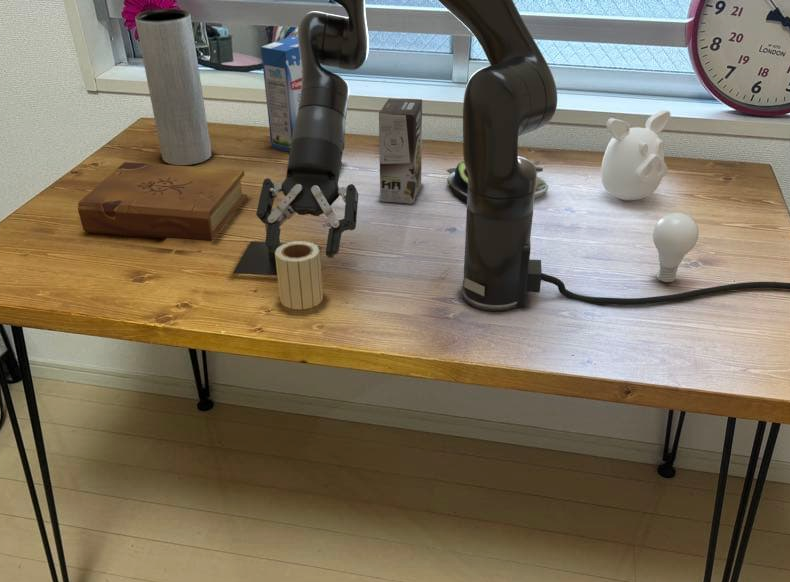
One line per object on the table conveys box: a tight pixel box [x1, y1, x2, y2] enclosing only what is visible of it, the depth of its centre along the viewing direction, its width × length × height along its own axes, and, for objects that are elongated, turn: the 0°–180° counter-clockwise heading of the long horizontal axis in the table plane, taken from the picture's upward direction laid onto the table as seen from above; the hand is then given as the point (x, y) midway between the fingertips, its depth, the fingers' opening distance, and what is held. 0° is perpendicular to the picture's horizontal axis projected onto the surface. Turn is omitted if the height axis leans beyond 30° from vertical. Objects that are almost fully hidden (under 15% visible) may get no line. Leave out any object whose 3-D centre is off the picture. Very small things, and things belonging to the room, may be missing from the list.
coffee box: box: [378, 98, 423, 205], centre depth 146 cm, size 9×6×16 cm
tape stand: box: [232, 207, 317, 277], centre depth 127 cm, size 11×11×9 cm
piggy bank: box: [600, 109, 671, 201], centre depth 144 cm, size 12×12×15 cm
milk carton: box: [260, 35, 302, 153], centre depth 166 cm, size 10×6×20 cm, turn 147°
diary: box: [77, 161, 248, 241], centre depth 142 cm, size 23×19×6 cm
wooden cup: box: [275, 240, 324, 311], centre depth 117 cm, size 6×6×8 cm
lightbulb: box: [652, 211, 699, 284], centre depth 121 cm, size 6×6×11 cm
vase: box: [134, 8, 212, 166], centre depth 158 cm, size 10×10×27 cm
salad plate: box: [445, 160, 549, 204], centre depth 151 cm, size 19×18×5 cm
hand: (300, 253), depth 116 cm, fingers open, 8 cm apart
